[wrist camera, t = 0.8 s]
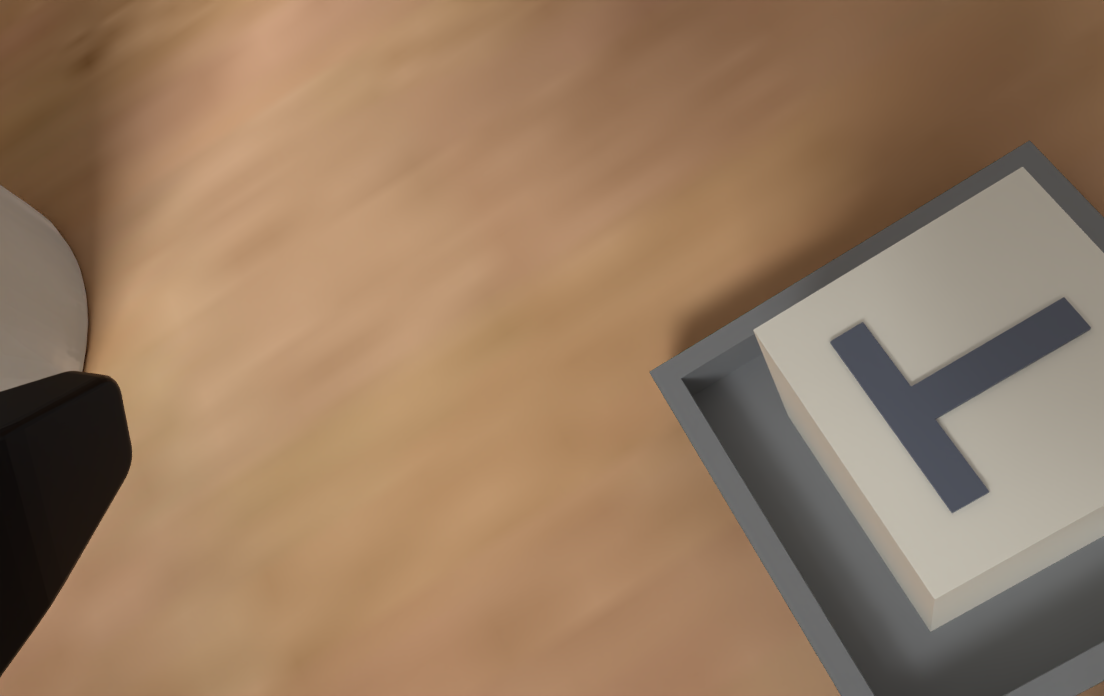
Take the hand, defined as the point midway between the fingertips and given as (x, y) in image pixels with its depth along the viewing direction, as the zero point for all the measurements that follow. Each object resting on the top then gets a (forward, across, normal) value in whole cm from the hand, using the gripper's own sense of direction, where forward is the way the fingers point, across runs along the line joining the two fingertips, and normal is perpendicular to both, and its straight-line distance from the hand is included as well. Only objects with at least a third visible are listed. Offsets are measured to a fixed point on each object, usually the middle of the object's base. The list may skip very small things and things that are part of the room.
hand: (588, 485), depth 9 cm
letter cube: (+10, -6, +5) cm, 13 cm away
